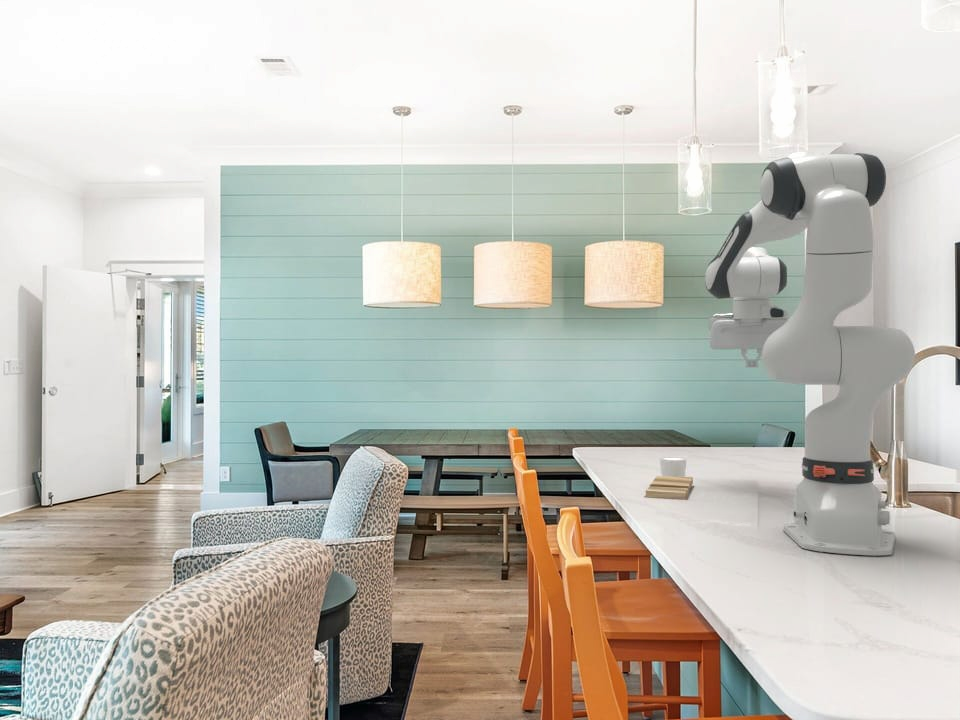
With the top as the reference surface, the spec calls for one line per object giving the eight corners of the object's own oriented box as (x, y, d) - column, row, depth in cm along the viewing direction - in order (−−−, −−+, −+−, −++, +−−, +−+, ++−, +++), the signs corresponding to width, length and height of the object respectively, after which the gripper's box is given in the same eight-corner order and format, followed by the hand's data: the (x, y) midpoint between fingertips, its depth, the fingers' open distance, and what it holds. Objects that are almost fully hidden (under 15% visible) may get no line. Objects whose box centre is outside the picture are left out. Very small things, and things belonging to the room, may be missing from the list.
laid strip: (685, 499, 167) (685, 491, 167) (645, 497, 170) (645, 489, 170) (688, 494, 173) (688, 487, 173) (650, 492, 177) (649, 485, 177)
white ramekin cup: (658, 482, 197) (658, 456, 197) (684, 483, 196) (684, 457, 196) (661, 486, 190) (661, 460, 190) (688, 487, 189) (688, 460, 189)
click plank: (688, 493, 174) (688, 486, 174) (650, 491, 177) (650, 484, 177) (692, 483, 185) (692, 476, 185) (656, 481, 188) (656, 474, 188)
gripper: (707, 313, 184) (708, 367, 184) (795, 310, 177) (796, 367, 177) (709, 314, 190) (709, 367, 190) (794, 312, 183) (794, 367, 183)
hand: (752, 367), depth 183 cm, fingers closed
